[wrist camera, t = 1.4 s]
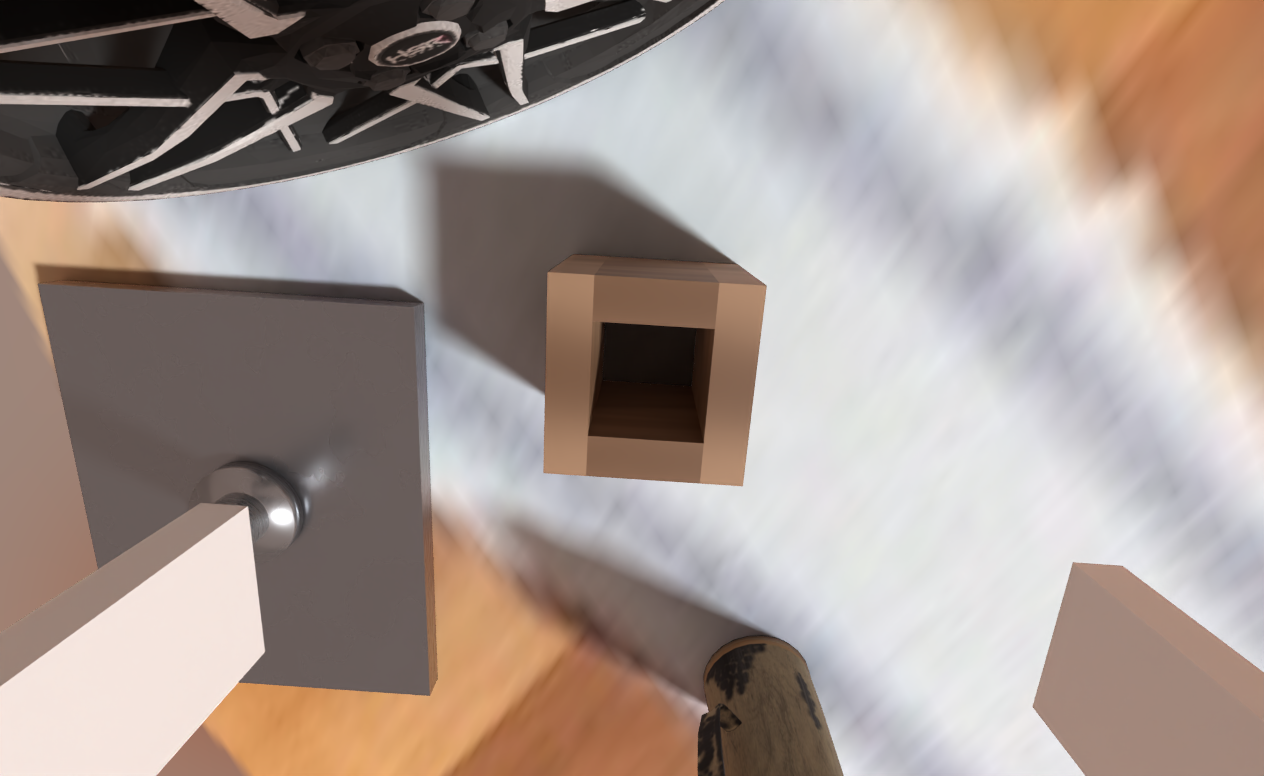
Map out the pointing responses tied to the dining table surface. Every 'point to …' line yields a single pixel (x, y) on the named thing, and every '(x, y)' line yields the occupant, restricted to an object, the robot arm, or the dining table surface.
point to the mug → (763, 714)
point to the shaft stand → (267, 458)
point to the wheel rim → (281, 83)
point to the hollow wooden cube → (645, 412)
